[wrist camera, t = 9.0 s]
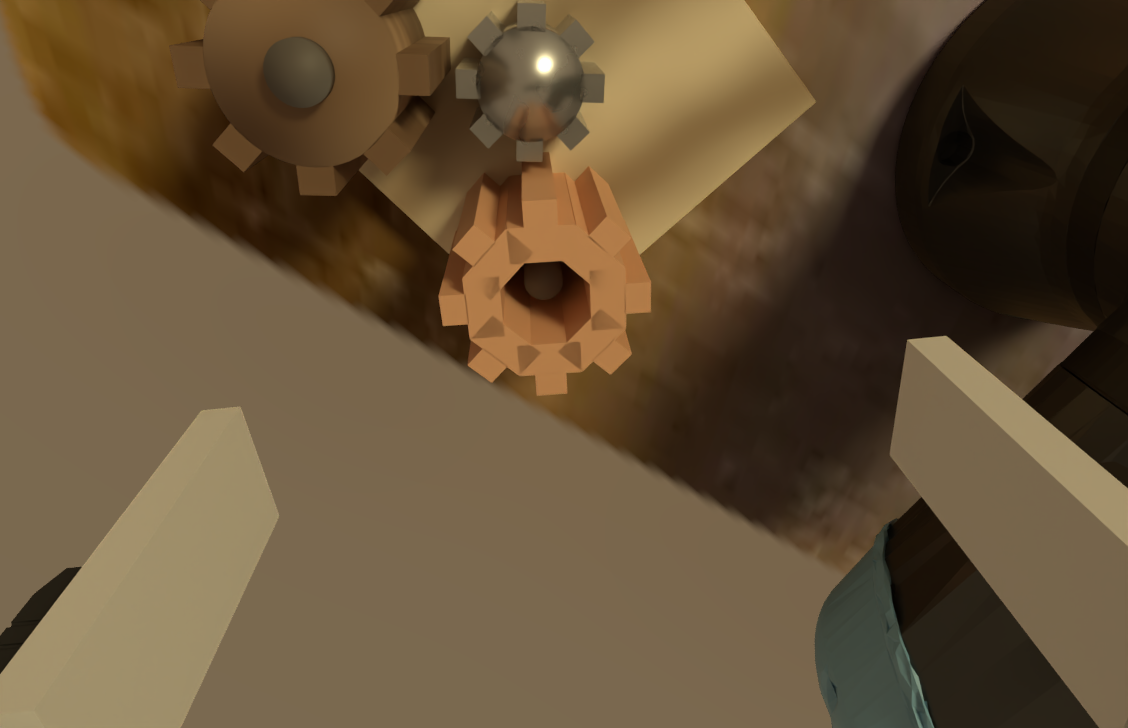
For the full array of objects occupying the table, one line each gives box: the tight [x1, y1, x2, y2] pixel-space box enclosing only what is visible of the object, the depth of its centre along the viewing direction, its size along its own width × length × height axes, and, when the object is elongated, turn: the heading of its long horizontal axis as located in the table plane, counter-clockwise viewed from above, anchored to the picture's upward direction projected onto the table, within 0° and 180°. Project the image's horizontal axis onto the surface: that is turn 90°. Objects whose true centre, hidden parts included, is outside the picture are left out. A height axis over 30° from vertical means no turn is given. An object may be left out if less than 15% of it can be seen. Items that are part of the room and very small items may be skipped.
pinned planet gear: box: [169, 0, 451, 196], centre depth 23 cm, size 7×7×8 cm
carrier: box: [359, 0, 816, 300], centre depth 26 cm, size 17×15×6 cm
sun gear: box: [455, 0, 605, 162], centre depth 25 cm, size 5×5×4 cm
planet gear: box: [439, 152, 651, 396], centre depth 27 cm, size 7×7×7 cm
